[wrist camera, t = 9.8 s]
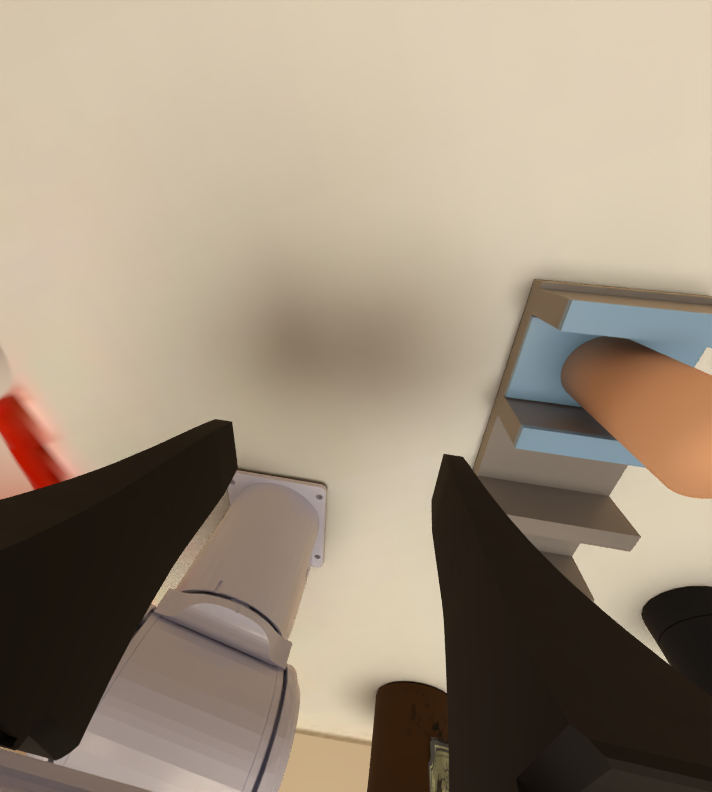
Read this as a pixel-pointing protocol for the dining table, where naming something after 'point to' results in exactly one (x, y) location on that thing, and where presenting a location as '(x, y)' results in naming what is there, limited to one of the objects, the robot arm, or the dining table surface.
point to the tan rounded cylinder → (648, 408)
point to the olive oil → (409, 740)
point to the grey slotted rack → (574, 414)
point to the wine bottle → (684, 631)
